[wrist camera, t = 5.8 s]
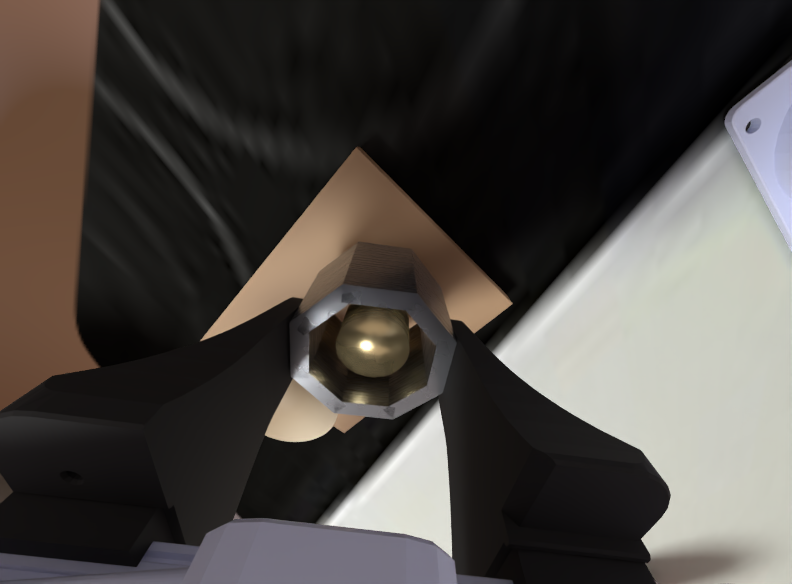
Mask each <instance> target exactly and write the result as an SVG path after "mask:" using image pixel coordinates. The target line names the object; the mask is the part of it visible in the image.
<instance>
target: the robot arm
mask: <svg viewBox="0 0 792 584" xmlns="http://www.w3.org/2000/svg"><path fill="white" fill-rule="evenodd" d="M749 122H751V125H750V127H749V129H748V130H747V131H746V130H745V128H746V126H747V124H748V123H749ZM725 127H726V129H727V131H728V133H729V135H730V136H731V138H732V140H733V142H734V144H735V146H736V148H737V150H738V151H739V153H740V155H741V157H742V159H743V161H744V163H745V165H746V167H747V168H748V170H749V172H750V174H751V176H752V178H753V180H754V182H755V184H756V185H757V187H758V189H759V191H760V193H761V195H762V197H763V199H764V201H765V202H766V204H767V206H768V208H769V210H770V212H771V214H772V216H773V218H774V219H775V221H776V223H777V225H778V227H779V229H780V231H781V233H782V235H783V236H784V238H785V240H786V242H787V244H788V246H789V248H790V250H791V251H792V60H791V61H790V62H788V63H787V64H786V65H785V66H783V67H782V68H781V69H780V70H778V71H777V72H776V73H775V74H773V75H772V76H771V77H770V78H768V79H767V80H766V81H765V82H763V83H762V84H761V85H760V86H758V87H757V88H756V89H755V90H753V91H752V92H751V93H750V94H748V95H747V96H746V97H744V98H743V99H742V100H741V101H739V102H738V103H737V104H736V105H734V106H733V107H732V108H731V109H730V110H729V112H728V114H727V115H726V118H725ZM302 300H303V298H296V297H291V298H289V299H287V300H285V301H283V302H281V303H280V304H278V305H276V306H274V307H272V308H271V309H269V310H267V311H265V312H263V313H262V314H260V315H258V316H256V317H254V318H252V319H250V320H248V321H246V322H244V323H242V324H240V325H238V326H236V327H234V328H232V329H230V330H227V331H225V332H223V333H220V334H218V335H215V336H213V337H210V338H208V339H205V340H202V341H200V342H197V343H194V344H191V345H188V346H185V347H181V348H178V349H175V350H172V351H168V352H165V353H162V354H158V355H154V356H151V357H147V358H143V359H139V360H134V361H130V362H126V363H121V364H117V365H112V366H107V367H101V368H96V369H90V370H85V371H79V372H73V373H68V374H62V375H55V376H52V377H50V378H49V379H47V380H46V381H44V382H43V383H41V384H40V385H38V386H37V387H35V388H34V389H32V390H31V391H29V392H28V393H27V394H25V395H23V396H22V397H21V398H19V399H17V400H16V401H14V402H13V403H12V404H10V405H9V406H7V407H6V408H4V409H3V410H1V411H0V473H1V475H2V476H3V478H4V479H5V481H6V482H7V484H8V485H9V486H10V488H11V489H12V491H14V492H12V493H11V494H10V495H9V496H8V497H7V498H6V499H5V500H4V501H2V502H1V503H0V584H656V582H655V580H654V578H653V577H652V575H651V573H650V571H649V570H648V568H647V566H646V564H645V563H648V562H649V561H650V560H651V558H650V554H649V552H648V550H647V549H646V547H645V545H644V544H643V542H642V540H641V538H642V537H643V536H644V535H645V534H646V533H647V532H648V531H649V530H650V529H651V528H652V527H653V526H654V525H655V523H656V522H657V521H658V520H659V519H660V518H661V517H662V516H663V514H664V513H665V511H666V510H667V509H668V505H669V501H670V496H671V495H670V491H669V488H668V486H667V484H666V483H665V482H664V480H663V479H662V478H661V476H660V475H659V474H658V472H657V471H656V470H655V468H654V467H653V466H652V464H651V463H650V462H649V460H648V459H647V458H646V456H645V455H644V454H643V452H642V451H641V450H639V449H637V448H635V447H633V446H631V445H629V444H627V443H625V442H623V441H621V440H619V439H617V438H615V437H613V436H611V435H609V434H607V433H605V432H603V431H601V430H599V429H597V428H595V427H594V426H592V425H590V424H588V423H586V422H585V421H583V420H581V419H579V418H578V417H576V416H574V415H573V414H571V413H569V412H568V411H566V410H564V409H563V408H561V407H560V406H558V405H557V404H555V403H554V402H552V401H551V400H549V399H548V398H546V397H545V396H543V395H542V394H540V393H539V392H537V391H536V390H535V389H533V388H532V387H531V386H529V385H528V384H527V383H526V382H524V381H523V380H522V379H521V378H519V377H518V376H517V375H516V374H514V373H513V372H512V371H511V370H510V369H509V368H508V367H507V366H505V365H504V364H503V363H502V362H501V361H500V360H499V359H498V358H497V357H496V356H495V355H494V354H493V353H492V352H491V351H490V350H489V349H488V348H487V347H486V346H485V345H484V344H483V343H482V342H481V341H480V340H479V339H478V337H477V336H476V335H475V334H474V333H473V332H472V331H471V330H470V329H469V328H468V327H467V326H466V324H465V323H464V322H462V321H459V320H452V319H450V320H451V324H452V327H453V332H454V334H455V337H456V341H457V344H456V348H455V351H454V355H453V358H452V362H451V365H450V369H449V372H448V376H447V380H446V383H445V387H444V390H443V393H442V394H440V395H438V397H439V403H440V409H441V415H442V420H443V426H444V432H445V438H446V445H447V456H448V470H449V487H450V505H451V530H452V558H451V557H450V556H449V555H448V554H447V553H446V552H444V551H443V550H442V549H441V548H440V547H438V546H437V545H436V544H435V543H433V542H432V541H429V540H425V539H421V538H418V537H414V536H410V535H406V534H399V533H391V532H382V531H373V530H364V529H355V528H346V527H337V526H329V525H320V524H311V523H302V522H293V521H284V520H275V519H266V518H257V519H235V520H233V518H234V516H235V513H236V510H237V507H238V504H239V502H240V499H241V496H242V493H243V490H244V488H245V485H246V482H247V480H248V477H249V474H250V472H251V469H252V466H253V464H254V461H255V459H256V456H257V453H258V451H259V448H260V446H261V443H262V441H263V438H264V436H265V433H266V431H267V428H268V426H269V424H270V422H271V420H272V418H273V415H274V413H275V412H276V410H277V408H278V406H279V404H280V402H281V400H282V398H283V396H284V395H285V393H286V391H287V389H288V387H289V385H290V383H291V381H292V379H293V378H292V377H291V372H290V324H289V323H290V321H291V319H292V317H293V316H294V314H295V312H296V311H297V309H298V308H299V305H300V304H301V302H302Z"/></svg>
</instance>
